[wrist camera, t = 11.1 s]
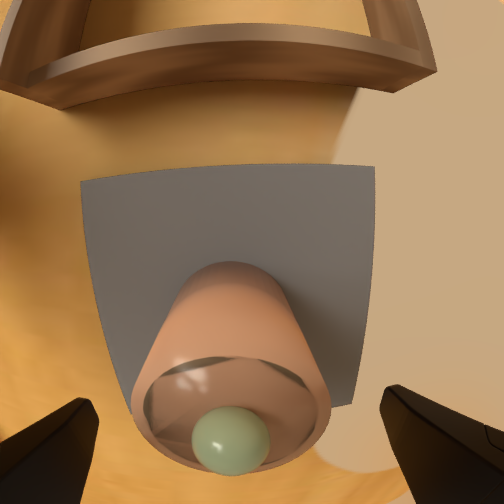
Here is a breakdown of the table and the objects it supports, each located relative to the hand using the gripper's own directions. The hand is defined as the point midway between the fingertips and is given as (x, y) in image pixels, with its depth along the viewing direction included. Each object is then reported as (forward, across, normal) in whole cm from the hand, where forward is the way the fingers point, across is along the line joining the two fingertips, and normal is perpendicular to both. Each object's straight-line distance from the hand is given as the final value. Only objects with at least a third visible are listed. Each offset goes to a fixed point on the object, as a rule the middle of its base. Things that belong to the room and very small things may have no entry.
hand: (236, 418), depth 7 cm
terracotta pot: (+7, 0, 0) cm, 7 cm away
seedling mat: (+7, 0, 0) cm, 7 cm away
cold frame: (+7, 0, -20) cm, 21 cm away
